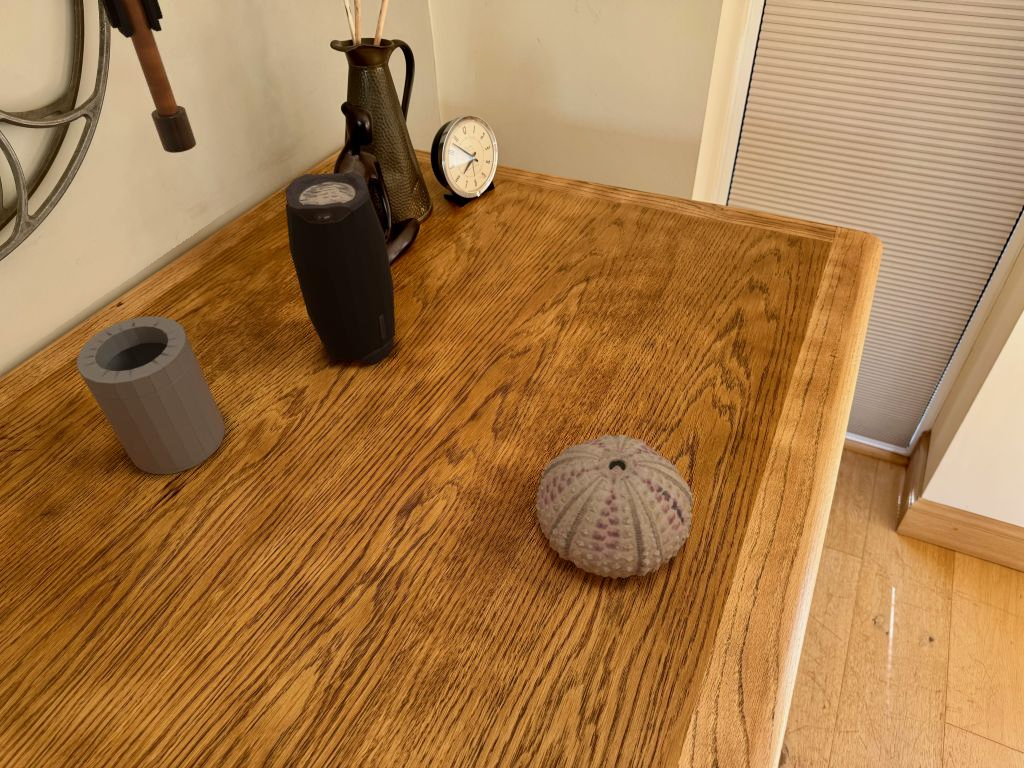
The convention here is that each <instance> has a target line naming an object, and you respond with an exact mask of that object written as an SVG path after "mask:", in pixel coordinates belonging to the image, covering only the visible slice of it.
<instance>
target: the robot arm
mask: <svg viewBox="0 0 1024 768" xmlns="http://www.w3.org/2000/svg"><path fill="white" fill-rule="evenodd" d="M100 2H101V4H102V7H103V10H104V12H105V15H106V17H107V18H106V19H107V20H108V23H109V24H110V25H109V26H110V27H111V28H112V29H114V30H115V29H117V30H118V32H119V33H120V34H121V35H122V36H124V37H125V38H126V39H129V38H131V37H132V35H133V32H132V29H131V26H130V23H129V20H128V17H127V15H126V12H125V9H124V6H123V3H122V0H100ZM142 2H143V5H144V8H145V11H146V14H147V17H148V20H149V23H150V26H151V29H152V31H153V32H154V31H155V32H156V33H158V32H162V26H161V22H160V20H163V18H164V16H163V12H162V9H161V6H160V3H159V0H142Z"/></svg>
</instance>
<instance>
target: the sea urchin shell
mask: <svg viewBox="0 0 1024 768" xmlns="http://www.w3.org/2000/svg"><path fill="white" fill-rule="evenodd" d="M543 469H544V470H543V471H541V472H540V474H541V479H540V484H539V485H538V488H537V489H538V492H537V493H536V494H535V496H536V497H537V498H536V499H535V503H536V504H535V506H534V507H535V509H536V510H537V512H536V517H537V518H538V519H537V520H538V522H539V524H540V525H539V527H540V529H541V533H543V534H544V537H545V538H546V539H548V540H549V548H552V551H555V552H557V553H558V555H559V559H563V560H566V561H571V562H572V563H573V564H574V565H575V567H576V568H577V569H582V570H583V571H584V572H586V573H593V574H594V575H596V576H598V577H599V576H602V577H604V578H607V577H610V578H612V579H613V580H616V579H618V578H622V579H625V578H628V577H630V576H638V577H645V576H646V575H647V574H648V573H651V574H653V573H655V572H656V571H658V570H659V568H660V567H661V565H662V564H668V563H669V561H670V559H671V558H674V557H677V555H678V553H679V550H680V548H682V547H683V546H685V545H684V544H685V543H686V540H687V539H688V538H689V537H690V535H689V532H690V531H691V530H692V529H691V525H692V518H693V514H692V512H691V511H692V509H693V504H694V503H695V501H696V500H695V499H694V498H693V495H694V493H693V492H691V491H690V490H691V487H690V485H689V483H688V482H687V481H685V478H684V477H683V476H681V474H680V471H679V469H677V468H676V465H675V464H672V462H671V460H669V459H667V458H665V457H664V456H663V455H662V454H661V453H659V452H658V451H656V450H655V449H653V448H652V447H651V446H649V445H648V444H647V443H645V442H644V440H643V438H642V439H640V438H637V439H635V438H633V437H631V436H629V435H625V434H614V435H610V434H607V433H605V434H602V435H601V436H599V437H595V438H592V439H588V440H586V441H583V442H580V443H578V444H573V445H569V446H568V448H564V450H563V452H561V454H559V455H558V456H556V457H554V458H552V459H551V460H550V461H548V462H547V463H546V466H545V467H544V468H543Z"/></svg>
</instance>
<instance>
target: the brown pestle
mask: <svg viewBox="0 0 1024 768" xmlns="http://www.w3.org/2000/svg"><path fill="white" fill-rule="evenodd" d="M122 3H123V6H124V9H125V12H126V15H127V17H128V20H129V23H130V26H131V29H132V32H133V35H132V37H130V40H131V42H132V46H133V48H134V50H135V53H136V57H137V59H138V62H139V65H140V68H141V70H142V73H143V76H144V79H145V82H146V85H147V87H148V90H149V93H150V96H151V98H152V101H153V104H154V107H155V109H154V110H153V111H152V112H151V114H150V116H151V119H152V121H153V124H154V127H155V130H156V133H157V136H158V138H159V140H160V143H161V146H162V148H163V150H164V151H165V152H166V153H173V154H177V153H183V152H184V153H185V152H187V151H191V150H192V149H193V148H194V147H196V146H197V141H196V137H195V135H194V132H193V129H192V126H191V122H190V120H189V116H188V113H187V111H186V108H185V107H184V106H182V105H178V103H177V101H176V98H175V95H174V93H173V92H174V91H173V88H172V86H171V83H170V80H169V77H168V74H167V71H166V68H165V65H164V62H163V59H162V56H161V53H160V49H159V47H158V44H157V41H156V38H155V35H154V31H153V30H152V29H151V26H150V23H149V20H148V17H147V14H146V11H145V8H144V5H143V2H142V0H122Z"/></svg>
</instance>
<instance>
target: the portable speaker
mask: <svg viewBox="0 0 1024 768" xmlns="http://www.w3.org/2000/svg"><path fill="white" fill-rule="evenodd" d="M369 190H370V189H369V184H368V183H367V181H366V179H365V177H364V176H363V175H361V174H358V173H357V172H355V171H349V172H341V173H338V172H337V173H336V172H335V173H320V174H318V173H317V174H311V173H309V174H308V173H305V174H303V175H301V176H298V177H296V178H294V179H293V180H291V182H290V183H289V184H288V185H287V187H285V199H286V203H285V212H286V222H287V233H288V245H289V251H290V256H291V259H292V262H293V266H294V270H295V273H296V277H297V281H298V283H299V288H300V291H301V295H302V299H303V303H304V306H305V309H306V312H307V315H308V318H309V321H310V322H311V324H312V326H313V328H314V330H315V332H316V334H317V336H318V338H319V341H320V343H321V344H322V345H323V348H324V351H325V354H326V355H327V356H328V358H329V359H330V360H331V362H333V363H337V362H340V361H346V362H347V361H351V362H362V363H364V364H365V365H367V366H369V365H376V364H378V363H380V362H381V361H382V360H384V359H385V358H387V357H388V356H389V355H390V353H391V352H392V350H393V348H394V337H395V336H396V318H395V317H396V316H395V296H394V295H395V293H394V280H393V275H392V270H391V264H390V257H389V253H388V246H387V242H386V235H385V232H384V229H383V227H382V224H381V221H380V219H379V217H378V214H377V211H376V209H375V206H374V203H373V200H372V199H371V195H370V191H369Z"/></svg>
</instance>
